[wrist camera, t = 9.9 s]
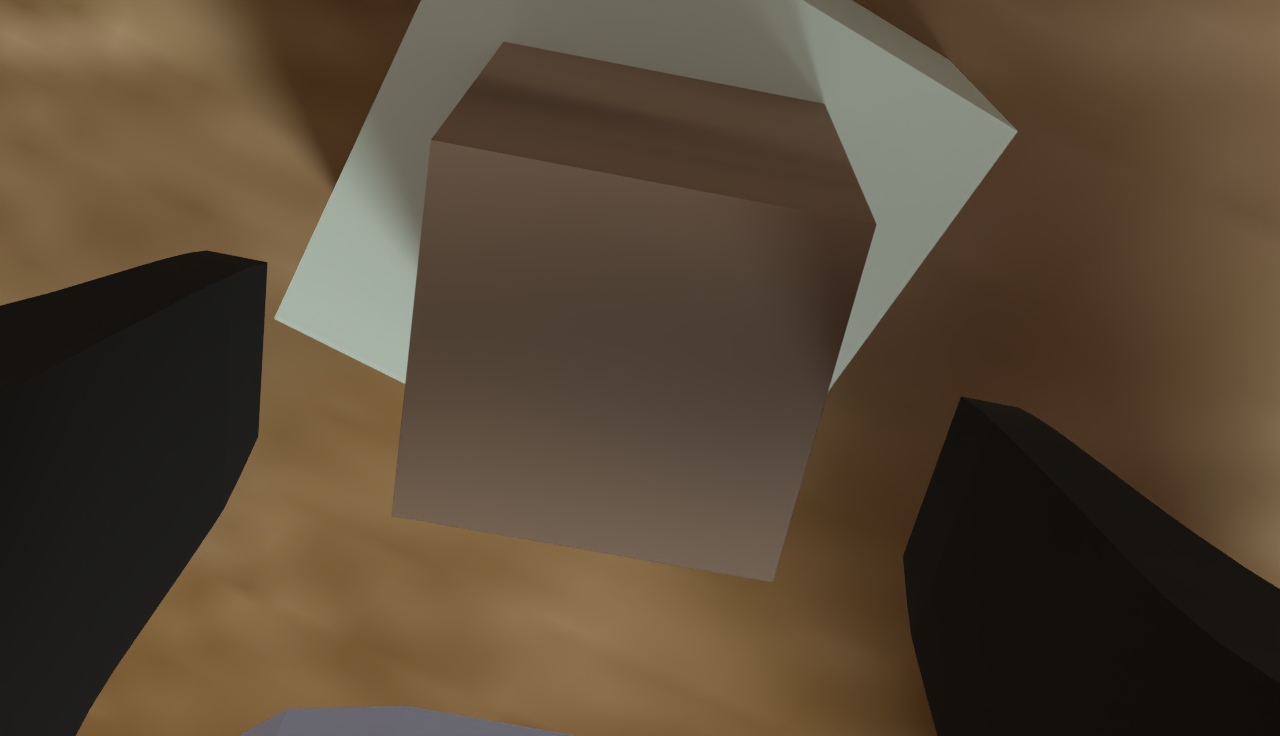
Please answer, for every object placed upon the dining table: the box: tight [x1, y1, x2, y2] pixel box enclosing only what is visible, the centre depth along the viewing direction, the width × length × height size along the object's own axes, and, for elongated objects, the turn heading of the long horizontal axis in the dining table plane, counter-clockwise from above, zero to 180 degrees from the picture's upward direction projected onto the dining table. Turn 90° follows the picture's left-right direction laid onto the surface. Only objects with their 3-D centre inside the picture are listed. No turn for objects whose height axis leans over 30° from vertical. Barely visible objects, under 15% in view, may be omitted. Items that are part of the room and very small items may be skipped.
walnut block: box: [392, 42, 877, 582], centre depth 15 cm, size 4×4×5 cm
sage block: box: [274, 0, 1018, 391], centre depth 19 cm, size 8×8×5 cm
